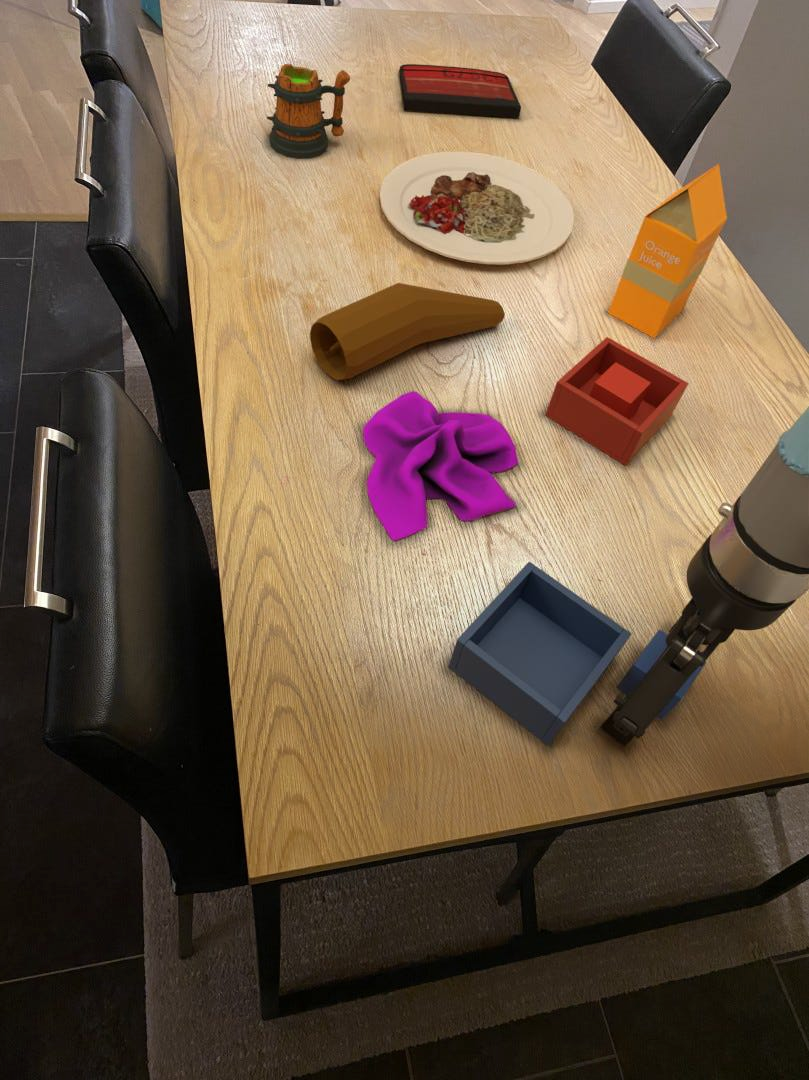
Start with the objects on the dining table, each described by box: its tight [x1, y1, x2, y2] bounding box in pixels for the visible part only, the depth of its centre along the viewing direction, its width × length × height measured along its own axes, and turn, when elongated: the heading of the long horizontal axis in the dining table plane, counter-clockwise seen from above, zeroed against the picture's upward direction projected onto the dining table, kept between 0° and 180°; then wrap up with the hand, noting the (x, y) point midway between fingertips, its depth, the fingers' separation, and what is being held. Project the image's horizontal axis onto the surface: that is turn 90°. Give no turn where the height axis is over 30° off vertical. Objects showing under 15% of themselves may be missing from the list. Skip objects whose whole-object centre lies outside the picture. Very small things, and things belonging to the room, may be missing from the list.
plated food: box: [379, 150, 575, 265], centre depth 116 cm, size 30×30×3 cm
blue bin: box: [447, 561, 633, 747], centre depth 71 cm, size 12×12×6 cm
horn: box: [309, 282, 506, 381], centre depth 96 cm, size 8×10×25 cm
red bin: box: [544, 336, 689, 466], centre depth 92 cm, size 12×12×6 cm
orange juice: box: [607, 163, 728, 339], centre depth 99 cm, size 8×9×20 cm
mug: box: [266, 63, 351, 160], centre depth 120 cm, size 13×10×12 cm
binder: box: [398, 63, 522, 119], centre depth 139 cm, size 16×2×21 cm
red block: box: [589, 362, 651, 420], centre depth 92 cm, size 5×5×5 cm
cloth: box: [362, 390, 519, 542], centre depth 84 cm, size 22×19×6 cm
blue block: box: [616, 629, 707, 721], centre depth 71 cm, size 5×5×5 cm
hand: (649, 683), depth 73 cm, fingers open, 13 cm apart
